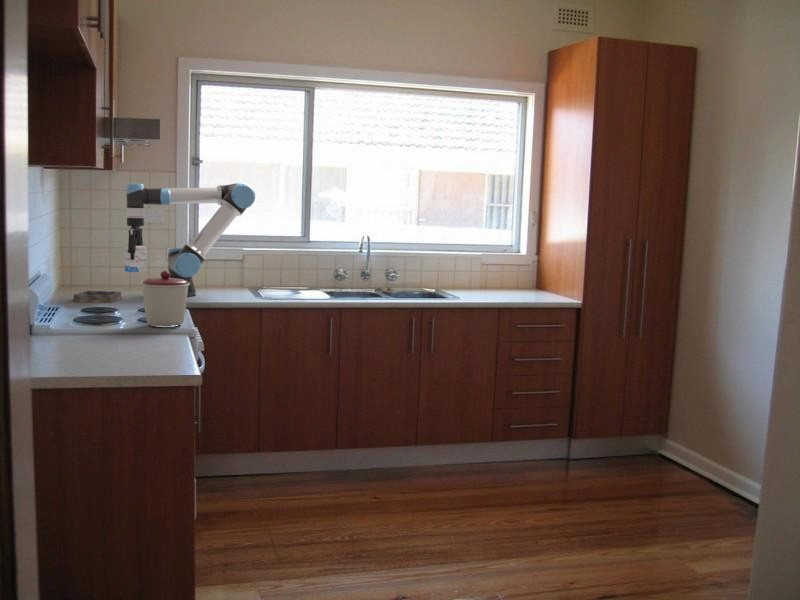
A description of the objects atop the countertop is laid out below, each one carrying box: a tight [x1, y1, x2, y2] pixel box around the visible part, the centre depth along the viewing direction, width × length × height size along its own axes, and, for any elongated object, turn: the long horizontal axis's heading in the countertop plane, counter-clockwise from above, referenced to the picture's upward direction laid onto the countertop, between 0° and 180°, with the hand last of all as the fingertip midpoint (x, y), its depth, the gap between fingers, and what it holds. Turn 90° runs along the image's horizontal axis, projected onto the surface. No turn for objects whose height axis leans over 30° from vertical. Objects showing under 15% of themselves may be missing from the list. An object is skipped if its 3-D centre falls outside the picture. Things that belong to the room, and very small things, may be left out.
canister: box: [139, 270, 190, 326], centre depth 315 cm, size 18×18×21 cm
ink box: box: [124, 245, 148, 273], centre depth 385 cm, size 9×5×12 cm, turn 143°
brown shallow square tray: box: [72, 290, 123, 304], centre depth 382 cm, size 17×17×3 cm
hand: (135, 265), depth 385 cm, fingers closed on ink box, 9 cm apart
